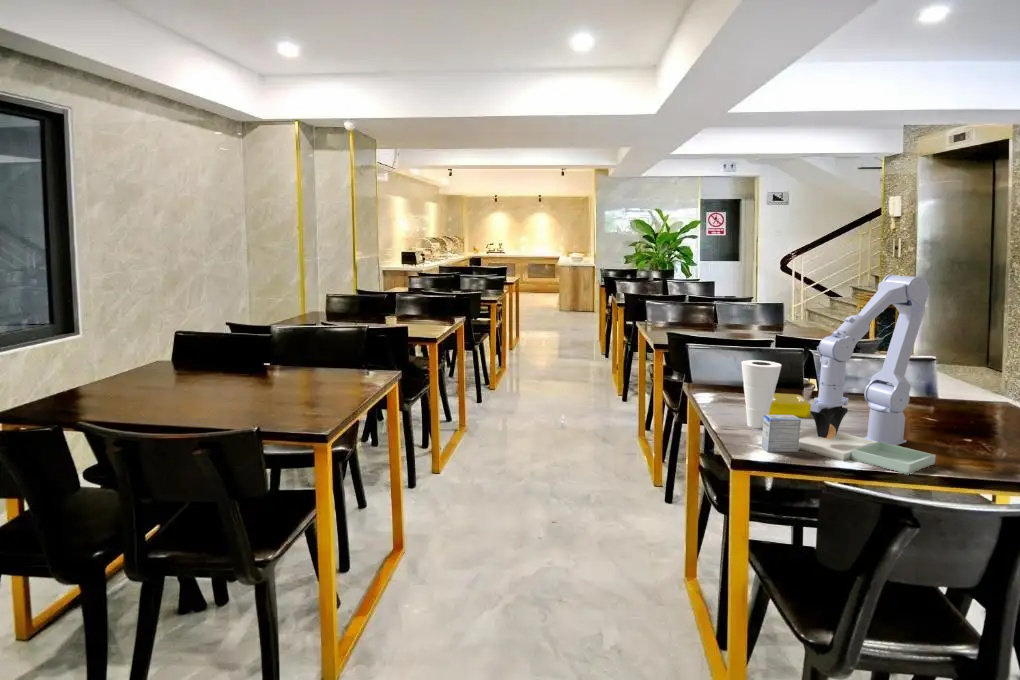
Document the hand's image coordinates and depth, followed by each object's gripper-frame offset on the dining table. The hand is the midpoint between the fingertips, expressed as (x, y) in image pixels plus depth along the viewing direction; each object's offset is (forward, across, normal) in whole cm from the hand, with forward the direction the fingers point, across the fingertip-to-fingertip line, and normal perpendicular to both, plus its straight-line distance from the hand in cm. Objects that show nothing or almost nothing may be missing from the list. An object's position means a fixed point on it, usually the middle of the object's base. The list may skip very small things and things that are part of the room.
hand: (826, 435), depth 190 cm
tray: (+3, -1, 0) cm, 3 cm away
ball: (-1, 0, 0) cm, 1 cm away
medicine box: (+3, +13, -5) cm, 14 cm away
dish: (+3, -2, +16) cm, 17 cm away
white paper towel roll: (+3, -2, -22) cm, 22 cm away
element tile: (+4, -25, -29) cm, 39 cm away
